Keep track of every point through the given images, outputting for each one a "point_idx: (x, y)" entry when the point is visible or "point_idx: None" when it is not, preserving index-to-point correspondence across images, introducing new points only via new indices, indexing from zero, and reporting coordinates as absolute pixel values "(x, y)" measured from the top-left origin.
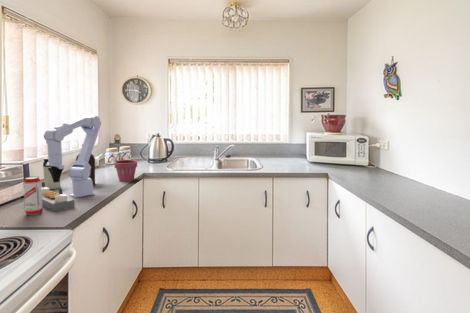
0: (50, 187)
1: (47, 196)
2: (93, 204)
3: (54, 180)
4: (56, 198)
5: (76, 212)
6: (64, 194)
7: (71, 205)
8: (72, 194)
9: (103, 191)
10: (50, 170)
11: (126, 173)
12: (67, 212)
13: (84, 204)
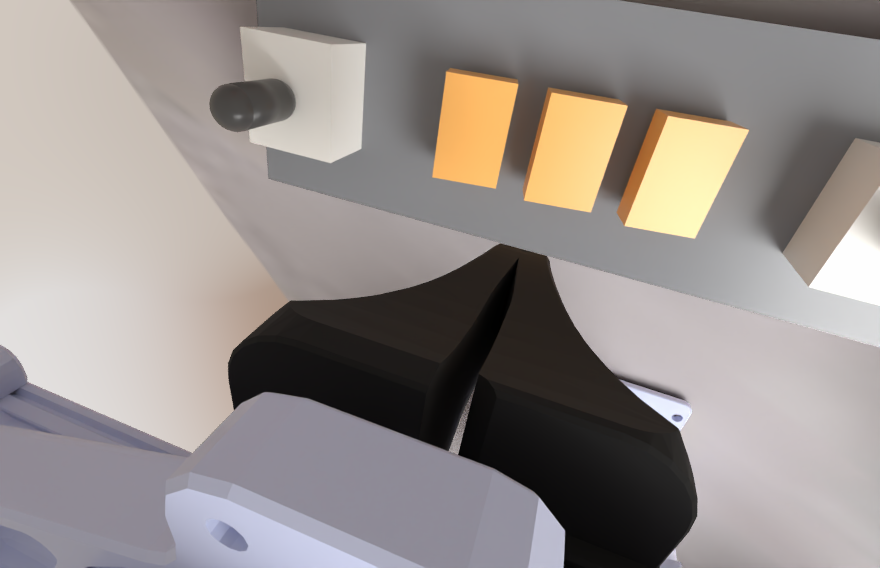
0: None
1: (602, 97)
2: (282, 272)
3: (482, 255)
4: (296, 34)
5: (175, 73)
6: (301, 150)
7: None
8: (655, 410)
9: None
10: (439, 343)
11: None
12: (213, 28)
13: (325, 247)
